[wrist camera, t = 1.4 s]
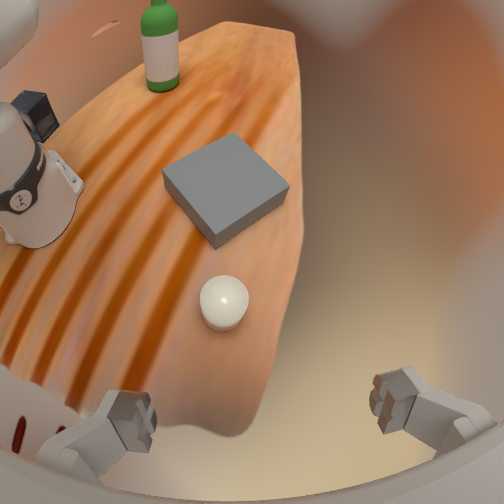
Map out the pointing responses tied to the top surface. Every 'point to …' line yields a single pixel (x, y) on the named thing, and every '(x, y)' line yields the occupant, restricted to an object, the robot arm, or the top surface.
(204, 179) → the plinth
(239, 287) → the cylinder
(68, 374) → the top surface
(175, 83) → the wine bottle
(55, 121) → the small box
